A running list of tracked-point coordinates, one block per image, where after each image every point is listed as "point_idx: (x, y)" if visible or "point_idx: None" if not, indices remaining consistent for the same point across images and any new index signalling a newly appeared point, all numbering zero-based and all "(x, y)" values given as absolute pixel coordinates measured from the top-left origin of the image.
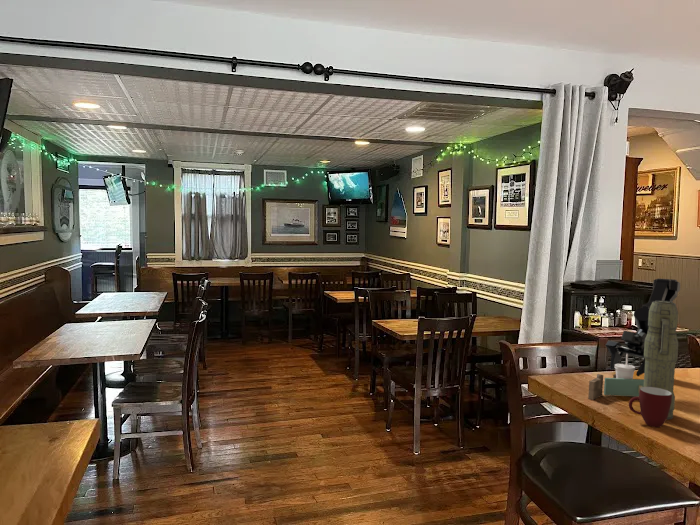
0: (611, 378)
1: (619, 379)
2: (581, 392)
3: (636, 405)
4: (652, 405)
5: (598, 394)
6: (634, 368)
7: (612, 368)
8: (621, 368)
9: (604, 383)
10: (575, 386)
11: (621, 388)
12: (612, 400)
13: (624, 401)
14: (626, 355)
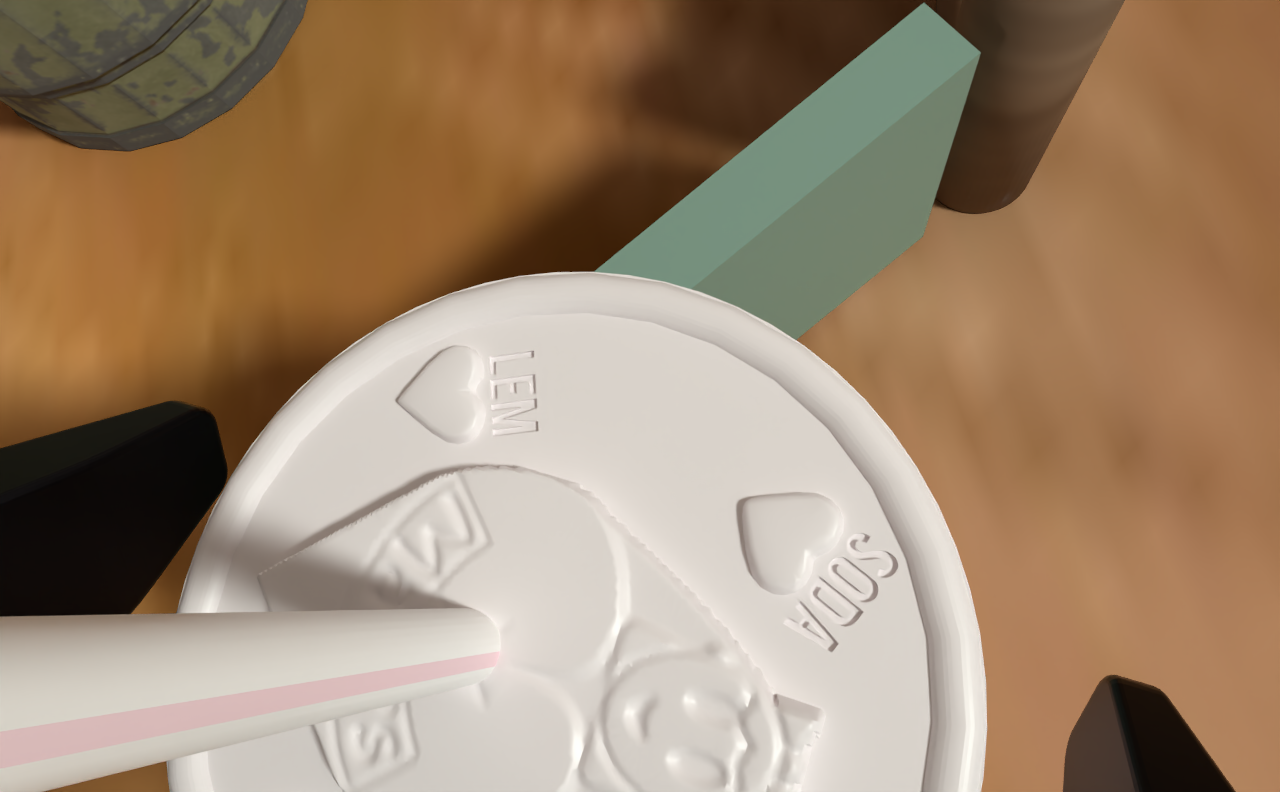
0: (822, 119)
1: (653, 232)
2: (1272, 71)
3: (393, 129)
4: None
5: (942, 17)
6: (189, 602)
7: (1072, 762)
8: (599, 306)
9: (952, 135)
10: None
11: None
12: (713, 76)
13: (563, 173)
14: (109, 626)
